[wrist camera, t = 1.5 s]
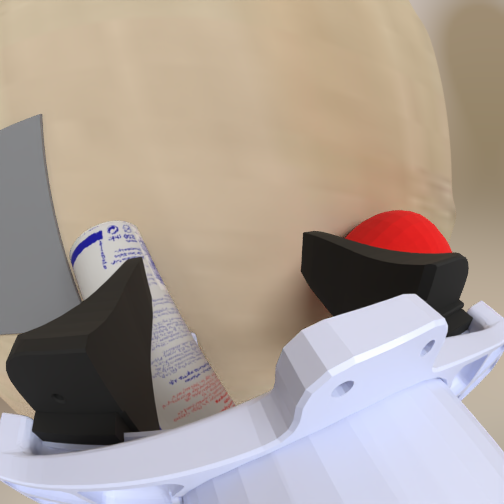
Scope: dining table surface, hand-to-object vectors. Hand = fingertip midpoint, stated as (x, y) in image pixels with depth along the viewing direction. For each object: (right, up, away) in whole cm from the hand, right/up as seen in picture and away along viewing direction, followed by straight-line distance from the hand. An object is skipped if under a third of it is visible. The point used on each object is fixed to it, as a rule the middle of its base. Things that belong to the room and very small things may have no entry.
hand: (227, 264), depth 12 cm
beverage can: (-10, +2, +6) cm, 12 cm away
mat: (-23, +1, +4) cm, 23 cm away
